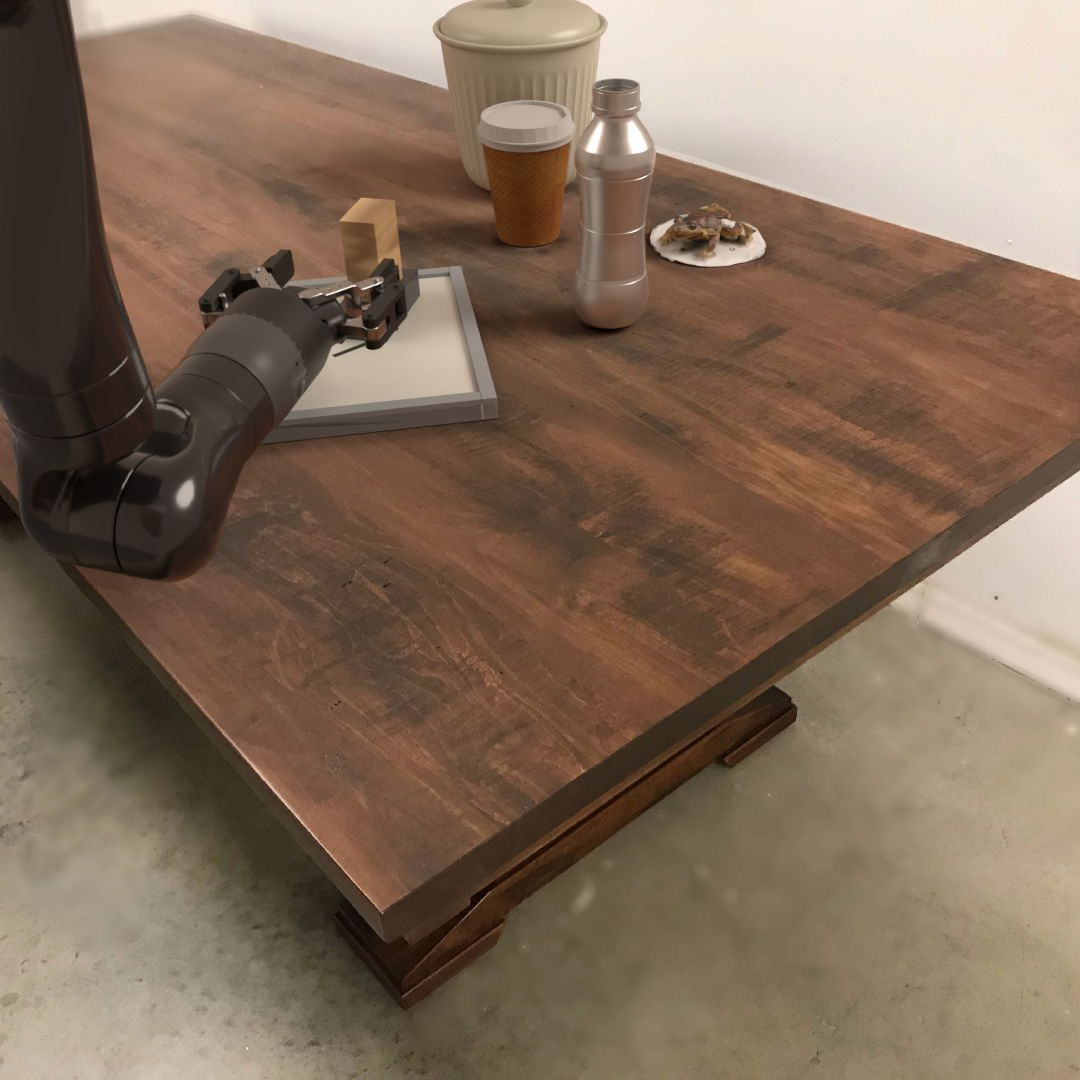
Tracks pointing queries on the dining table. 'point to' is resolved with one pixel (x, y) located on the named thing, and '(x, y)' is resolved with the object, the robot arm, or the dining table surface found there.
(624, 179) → the silver bottle
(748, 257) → the frog figurine
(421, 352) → the whiteboard
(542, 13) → the canister
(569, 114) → the disposable coffee cup
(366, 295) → the eraser
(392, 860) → the dining table surface
